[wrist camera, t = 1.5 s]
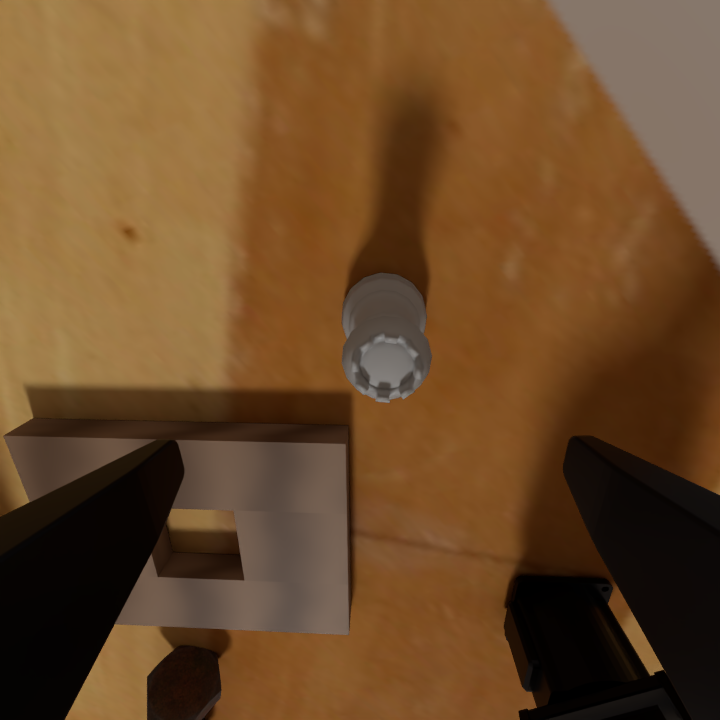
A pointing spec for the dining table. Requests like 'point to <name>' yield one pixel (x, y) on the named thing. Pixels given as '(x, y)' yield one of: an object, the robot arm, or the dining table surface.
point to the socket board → (225, 492)
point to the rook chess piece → (385, 337)
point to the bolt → (184, 685)
